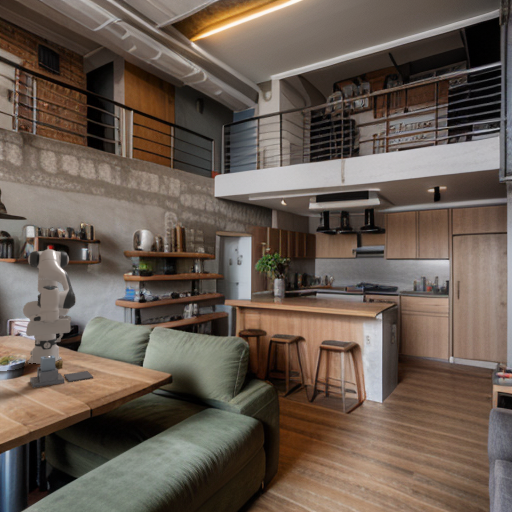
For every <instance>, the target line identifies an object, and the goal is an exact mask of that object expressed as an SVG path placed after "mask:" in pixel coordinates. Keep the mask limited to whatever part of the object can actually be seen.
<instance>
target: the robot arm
mask: <svg viewBox="0 0 512 512" xmlns="http://www.w3.org/2000/svg"><path fill="white" fill-rule="evenodd" d="M27 261H28V264H29V267H31V268H34V269H37V268H38V276H37V292H38V293H39V294H38V295H37V300H33V301H29V302H26V303H25V305H24V306H23V308H22V313H23V316H25V318H28V319H29V322H28V323H27V326H26V331H25V335H26V336H28V337H34V347H33V348H32V350H30V354H29V355H30V357H29V359H28V361H27V364H29V363H31V364H33V363H36V364H35V365H40V363H41V357H44V356H52V355H54V356H55V362H58V361H61V360H62V357H61V356H60V347H59V346H58V345H57V343H60V342H61V339H62V338H63V336H64V334H68V333H70V332H71V322H72V317H71V316H69V315H67V314H68V313H69V312H70V309H72V308H73V307H74V306H75V305H76V302H77V298H76V295H75V292H74V290H73V287H72V284H71V281H70V277H69V274H68V272H67V271H66V270H65V269H64V268H66V267H67V266H68V264H69V261H70V258H69V255H68V253H67V252H66V251H62V250H61V251H58V250H57V251H56V250H54V249H52V248H51V249H49V248H47V249H45V250H41V251H40V250H35V251H31V252H30V253H29V256H28V258H27ZM59 283H60V285H62V289H63V290H62V291H60V290H59V286H58V285H59ZM58 334H59V337H58V338H57V335H58Z"/></svg>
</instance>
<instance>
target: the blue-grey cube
mask: <svg viewBox="0 0 512 512" xmlns="http://www.w3.org/2000/svg"><path fill="white" fill-rule="evenodd" d="M55 362H56V361H55V356H54V355H52V356H51V358H45V356H44V357H41V363H40V364H39V367H40V369H41V370H42V371H46V370H53V369H55Z"/></svg>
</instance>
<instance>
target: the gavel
mask: <svg viewBox="0 0 512 512" xmlns="http://www.w3.org/2000/svg"><path fill="white" fill-rule="evenodd" d="M63 363H64V362H63V360H58V361H55V366H56V368H57V369H63Z"/></svg>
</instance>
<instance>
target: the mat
mask: <svg viewBox="0 0 512 512" xmlns="http://www.w3.org/2000/svg"><path fill="white" fill-rule="evenodd" d="M64 376H65V377H64ZM63 377H64V379H65V380H66V381H67V380H68V381H67V382H68V383H73V381H74V382H79V380H80V381H85V379H86V380H91V379H90V378H92V379H94V376H93V375H92V374H91V372H90V371H88V370H83V371H78V372H71V373H65V374H63Z"/></svg>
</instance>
